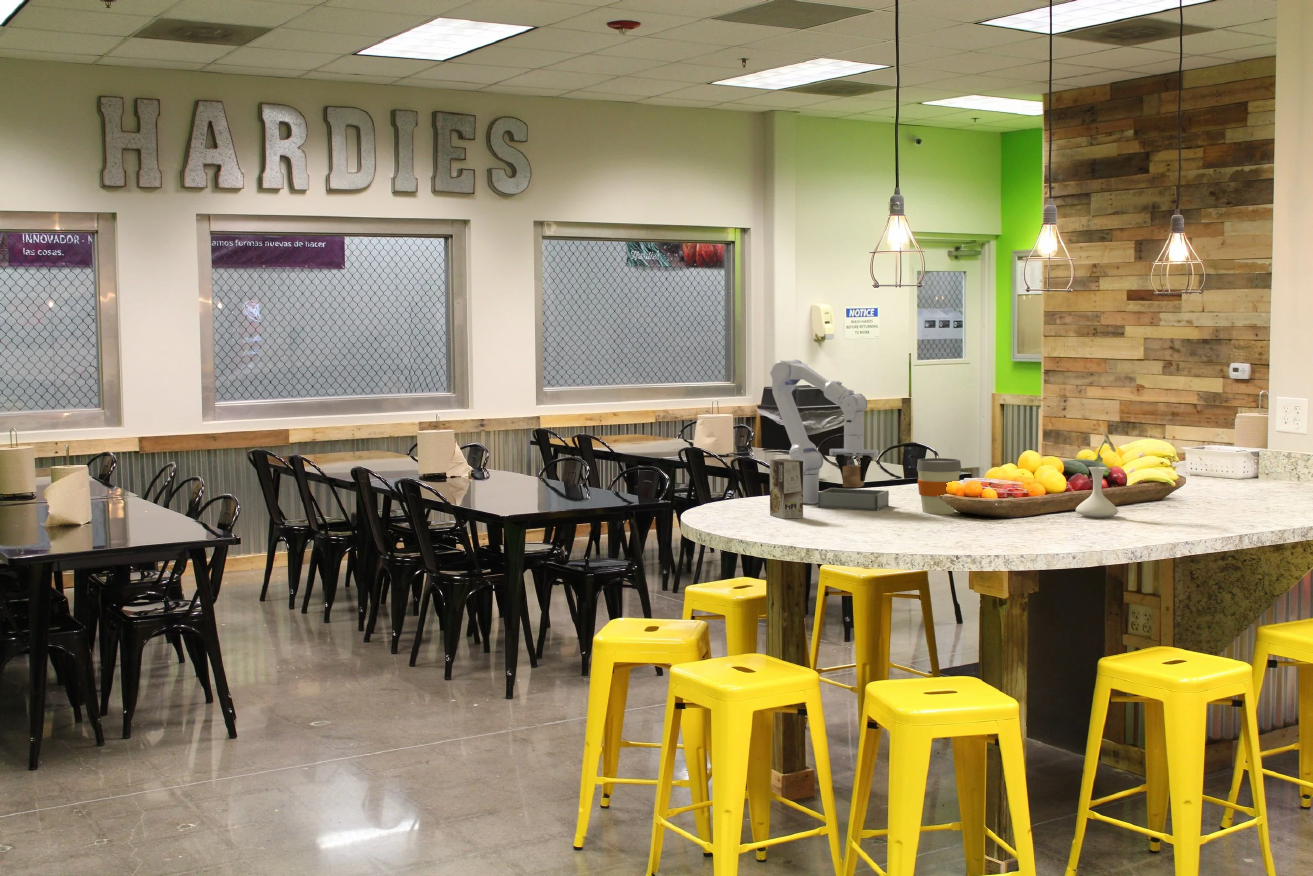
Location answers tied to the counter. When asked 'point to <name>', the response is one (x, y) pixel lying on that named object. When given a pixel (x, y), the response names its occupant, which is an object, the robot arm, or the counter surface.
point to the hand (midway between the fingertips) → (853, 480)
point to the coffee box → (786, 488)
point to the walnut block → (852, 476)
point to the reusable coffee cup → (936, 482)
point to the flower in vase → (1098, 490)
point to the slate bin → (853, 499)
